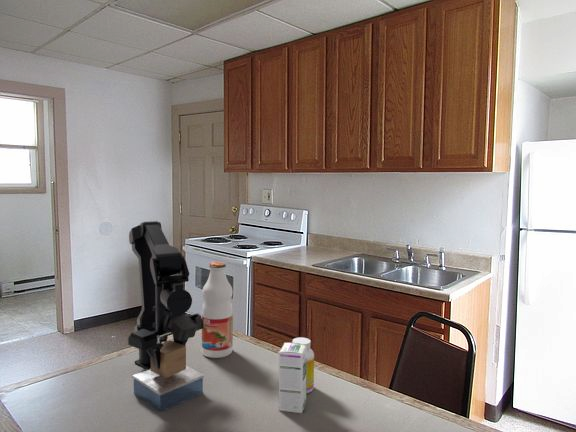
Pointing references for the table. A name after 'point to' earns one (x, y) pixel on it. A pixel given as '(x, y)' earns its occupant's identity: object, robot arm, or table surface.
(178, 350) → the walnut block
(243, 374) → the table surface
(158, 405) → the slate tin
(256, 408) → the table surface
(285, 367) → the syrup box
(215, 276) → the fruit juice
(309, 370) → the supplement bottle
